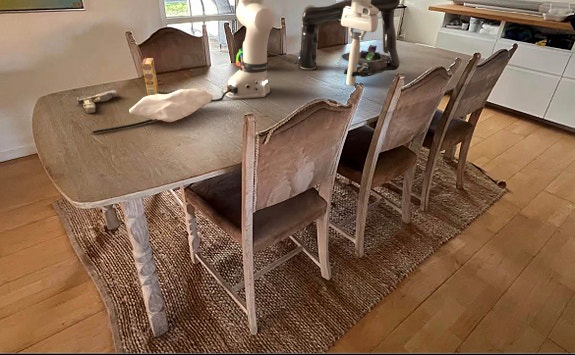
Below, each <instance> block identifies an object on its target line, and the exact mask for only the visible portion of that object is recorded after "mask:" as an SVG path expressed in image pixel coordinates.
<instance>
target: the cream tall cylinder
mask: <svg viewBox="0 0 575 355" xmlns="http://www.w3.org/2000/svg"><path fill="white" fill-rule="evenodd" d="M359 52H361V40H359V39H352V41H351V43H350V48H349V53H350V55H349V61H348V65H347V67H348V72H347V74H346V81H345V85H347V86H351V87H352V86H355V85H356V80H357V76H355V77H352V76H351V75H352V72H356V71H357V66H359V65H358V64H359V63H358V59H359Z"/></svg>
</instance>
